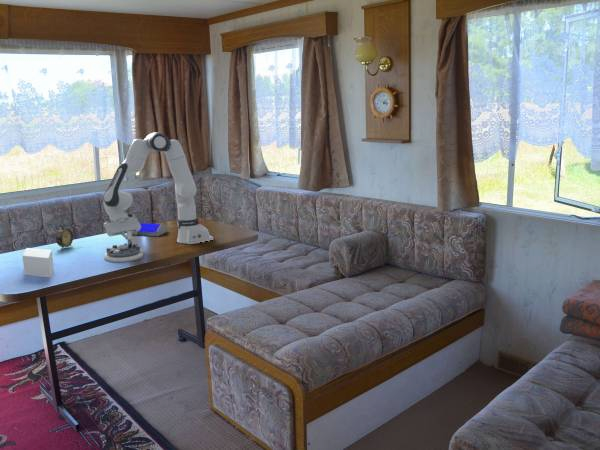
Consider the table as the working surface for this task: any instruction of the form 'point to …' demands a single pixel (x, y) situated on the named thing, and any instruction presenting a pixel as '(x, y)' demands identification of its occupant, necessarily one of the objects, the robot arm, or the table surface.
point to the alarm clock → (64, 237)
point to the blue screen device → (150, 229)
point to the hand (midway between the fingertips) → (128, 238)
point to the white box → (38, 262)
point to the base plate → (123, 259)
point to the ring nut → (129, 251)
